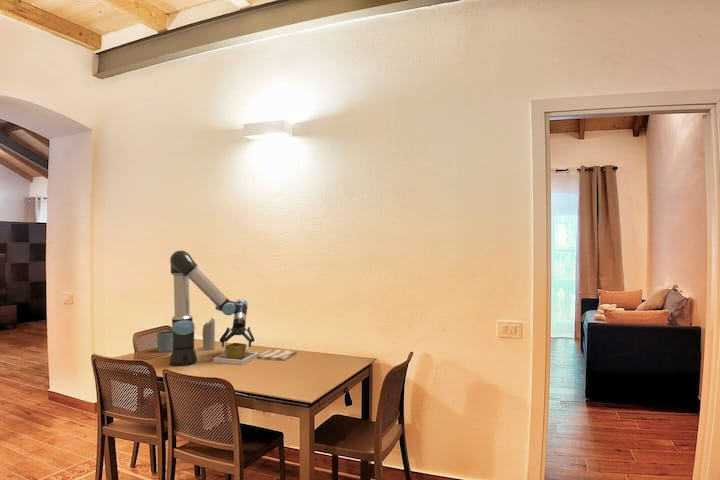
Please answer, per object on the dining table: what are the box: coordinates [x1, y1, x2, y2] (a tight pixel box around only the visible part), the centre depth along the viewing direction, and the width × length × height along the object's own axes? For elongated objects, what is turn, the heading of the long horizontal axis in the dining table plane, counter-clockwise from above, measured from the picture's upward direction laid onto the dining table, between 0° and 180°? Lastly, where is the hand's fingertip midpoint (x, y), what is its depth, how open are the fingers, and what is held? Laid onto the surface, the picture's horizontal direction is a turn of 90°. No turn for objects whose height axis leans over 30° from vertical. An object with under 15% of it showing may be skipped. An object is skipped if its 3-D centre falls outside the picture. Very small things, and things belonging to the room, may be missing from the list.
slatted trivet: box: [256, 348, 298, 361], centre depth 272 cm, size 18×18×2 cm
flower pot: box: [225, 342, 247, 360], centre depth 263 cm, size 9×9×9 cm
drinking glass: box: [156, 330, 173, 353], centre depth 286 cm, size 10×10×12 cm
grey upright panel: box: [194, 317, 216, 352], centre depth 289 cm, size 7×14×20 cm, turn 107°
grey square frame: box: [212, 351, 259, 366], centre depth 264 cm, size 19×19×2 cm
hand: (235, 351), depth 261 cm, fingers open, 13 cm apart
